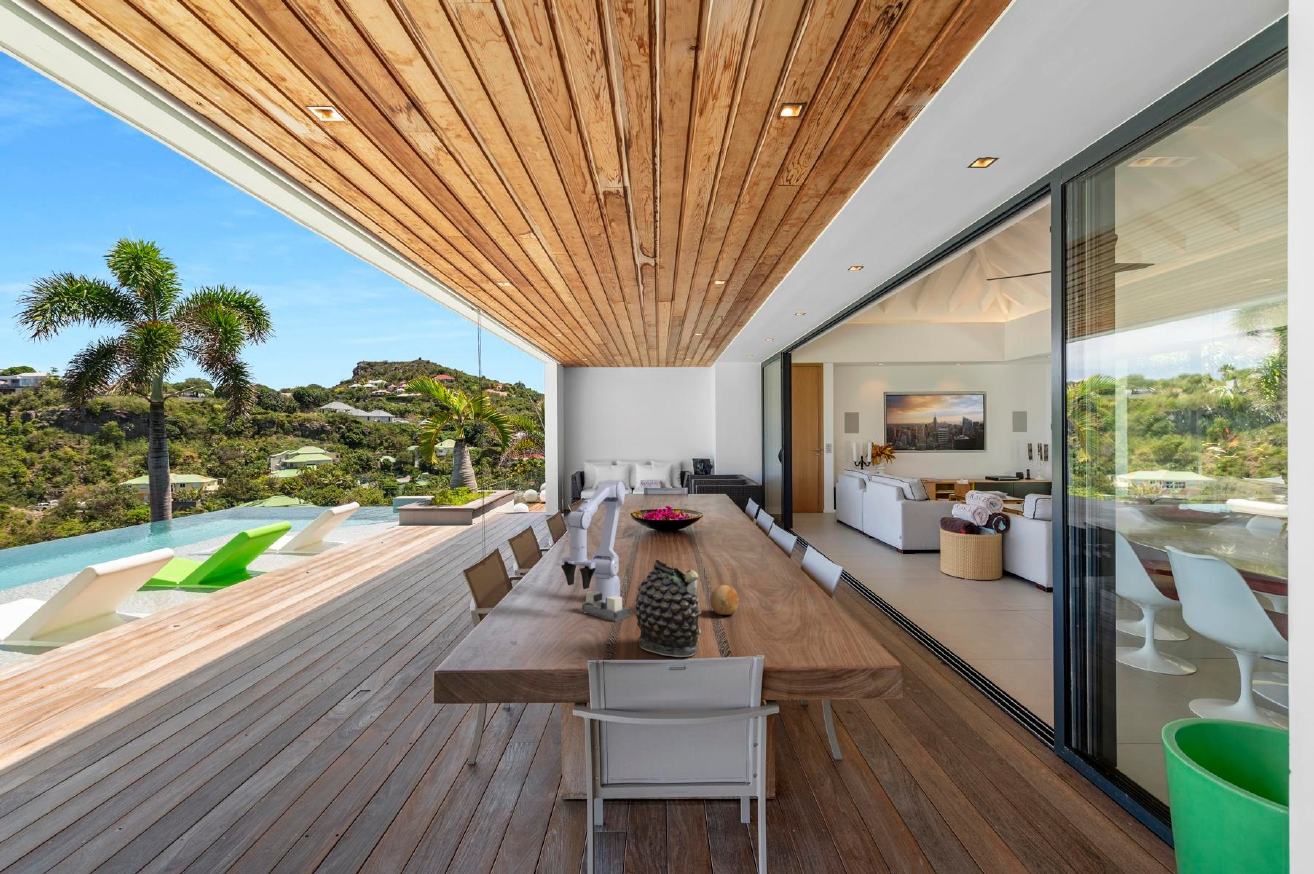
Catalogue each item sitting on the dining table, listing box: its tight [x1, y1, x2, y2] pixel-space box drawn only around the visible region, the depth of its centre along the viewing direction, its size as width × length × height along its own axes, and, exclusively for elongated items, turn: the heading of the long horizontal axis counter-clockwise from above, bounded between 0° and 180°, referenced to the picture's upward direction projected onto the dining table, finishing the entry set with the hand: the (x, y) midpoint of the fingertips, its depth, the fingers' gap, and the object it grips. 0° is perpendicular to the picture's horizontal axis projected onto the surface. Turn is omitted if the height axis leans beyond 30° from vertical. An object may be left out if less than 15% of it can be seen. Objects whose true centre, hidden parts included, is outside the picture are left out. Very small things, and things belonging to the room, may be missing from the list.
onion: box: [709, 584, 740, 616], centre depth 201 cm, size 10×10×10 cm
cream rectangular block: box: [606, 595, 623, 612], centre depth 198 cm, size 4×4×5 cm
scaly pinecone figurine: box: [633, 559, 702, 658], centre depth 168 cm, size 21×15×25 cm
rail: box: [581, 589, 631, 623], centre depth 201 cm, size 7×16×7 cm, turn 50°
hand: (578, 586), depth 202 cm, fingers open, 7 cm apart
